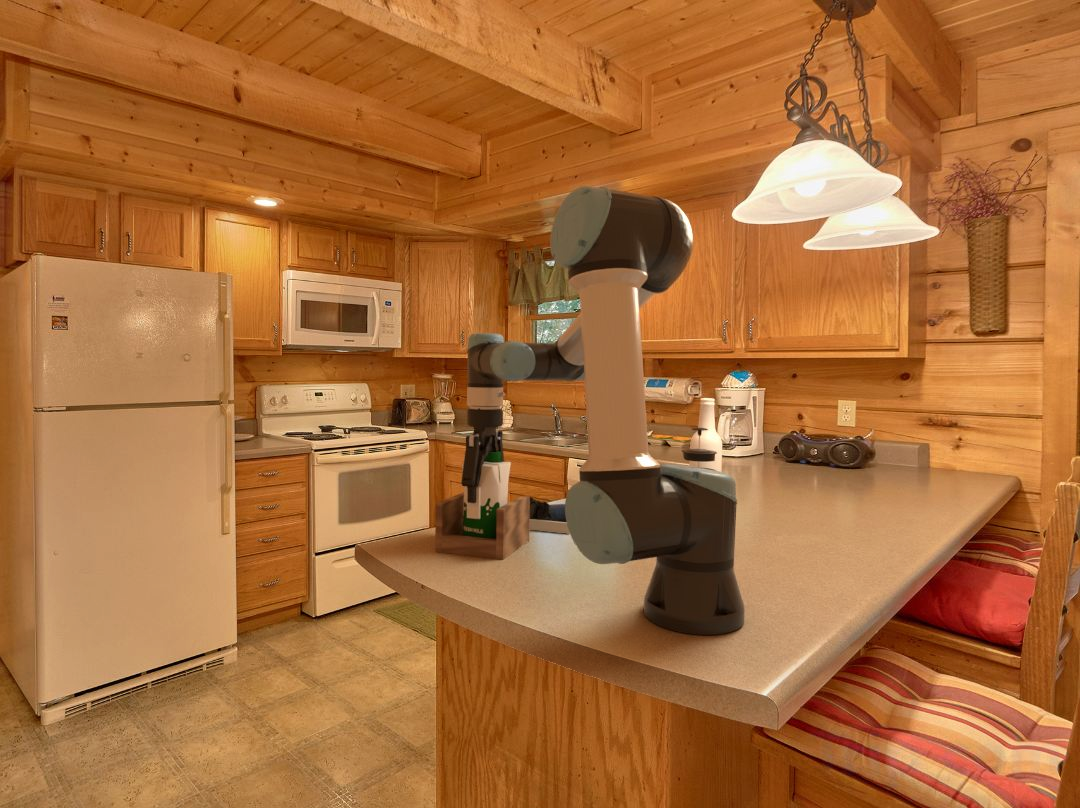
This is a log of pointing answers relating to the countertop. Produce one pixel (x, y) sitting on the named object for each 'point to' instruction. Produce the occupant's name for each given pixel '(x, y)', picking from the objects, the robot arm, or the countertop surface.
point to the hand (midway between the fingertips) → (484, 512)
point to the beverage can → (547, 511)
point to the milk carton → (488, 497)
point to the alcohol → (707, 436)
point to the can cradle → (548, 526)
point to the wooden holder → (450, 538)
